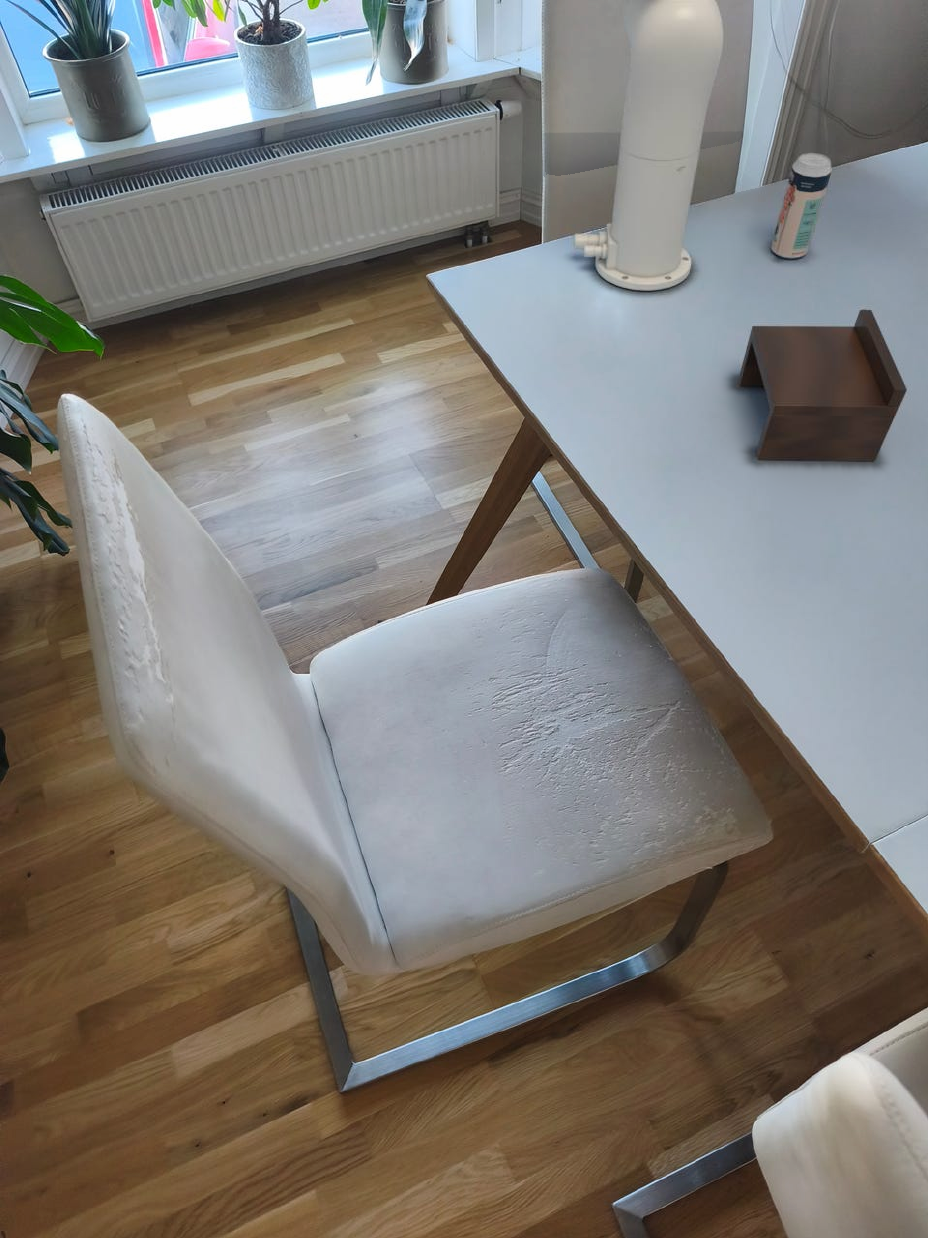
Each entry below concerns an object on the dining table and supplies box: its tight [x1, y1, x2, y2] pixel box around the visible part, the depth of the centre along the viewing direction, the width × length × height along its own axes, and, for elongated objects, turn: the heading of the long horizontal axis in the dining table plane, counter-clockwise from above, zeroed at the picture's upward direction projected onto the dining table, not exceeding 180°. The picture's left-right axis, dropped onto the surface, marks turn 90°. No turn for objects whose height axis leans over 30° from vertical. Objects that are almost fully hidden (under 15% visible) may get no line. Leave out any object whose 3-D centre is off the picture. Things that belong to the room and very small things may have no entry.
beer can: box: [770, 152, 833, 260], centre depth 111 cm, size 5×5×12 cm
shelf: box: [737, 309, 908, 463], centre depth 90 cm, size 12×14×9 cm
